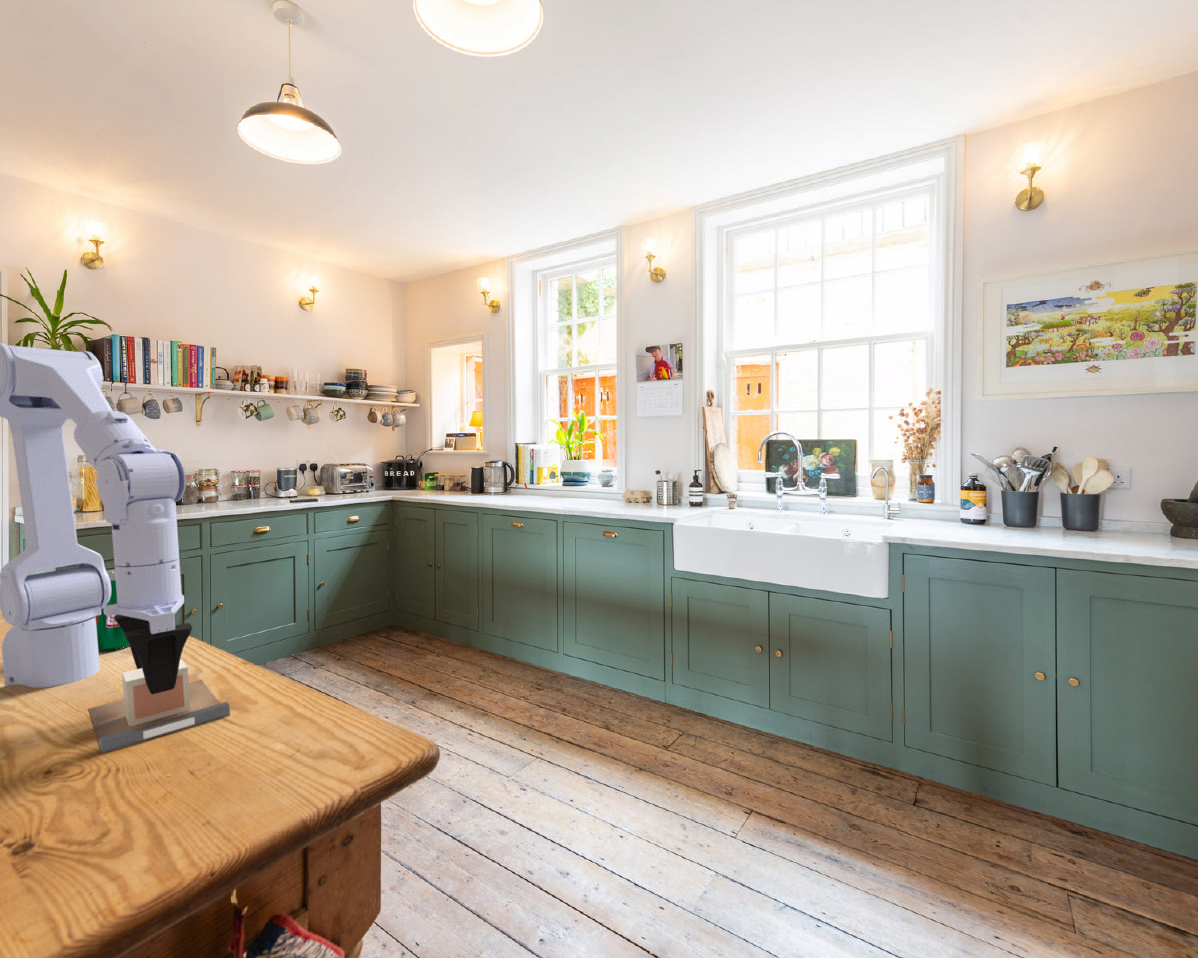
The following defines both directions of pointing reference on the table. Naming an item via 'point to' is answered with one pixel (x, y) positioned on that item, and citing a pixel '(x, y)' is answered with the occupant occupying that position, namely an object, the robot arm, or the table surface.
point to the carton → (154, 697)
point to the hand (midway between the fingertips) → (156, 680)
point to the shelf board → (114, 721)
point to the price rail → (163, 727)
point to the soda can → (110, 624)
